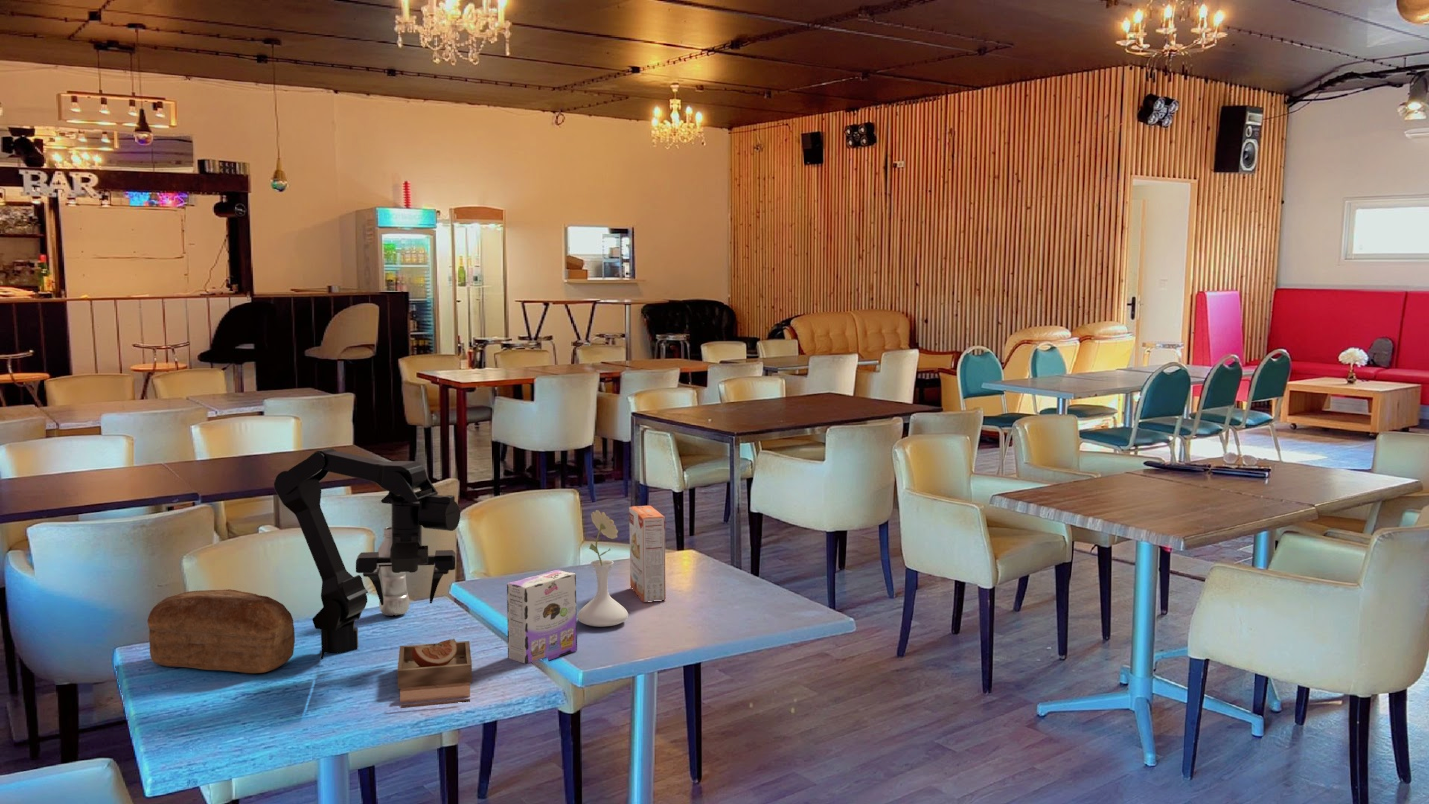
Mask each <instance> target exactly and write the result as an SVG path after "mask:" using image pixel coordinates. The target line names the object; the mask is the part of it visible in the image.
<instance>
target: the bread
mask: <svg viewBox="0 0 1429 804" xmlns="http://www.w3.org/2000/svg"><path fill="white" fill-rule="evenodd" d="M149 612H150V613H149V614H148V618H147V627H148V629H149V631H148V632H149V633H148V637H149V638H148V640H149V654H150V660H151V661H152V662H153V663H154V664H157V665H160V666H162V667H163V666H164V667H177V668H179V667H180V668H189V669H191V668H192V669H199V670H205V671H206V670H207V671H227V672H237V673H238V672H239V673H244V674H263V673H267V672H270V671H273V670H277V669H278V668H279V667H281V666H283V665H285V664H287V663H288V661H289V660H290V659H291V658H292V657H293V655H294V650H295V643H296V641H295V640H296V637H295V636H296V635H295V634H296V633H295V626H294V618H293V616H292V613H291V612H290V611H289V610H288V608H287V607H286V606H285V605H284V604H283V603H281V602H279V601H278V600H276V599H274V598H272V597H269V596H266V595H258V594H256V593H253V592H245V591H241V590H236V589H209V590H207V589H206V590H192V591H185V592H182V593H179V594H176V595H172V596H168V597H165V598H164V599H162V600H161V601H159V602H158V603H157V604H156V605H154V606H153V608H152V609H151V611H149Z"/></svg>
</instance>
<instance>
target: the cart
mask: <svg viewBox="0 0 1429 804" xmlns="http://www.w3.org/2000/svg"><path fill="white" fill-rule="evenodd" d="M438 643H439V642H436V643H434V644H436V645H437V644H438ZM427 644H428V643H425V644H413V645H412V644H411V645H408V644H407V645H400V646H399V649H398V650H399V652H398V661H397V689H398V690H400V688H410V687H422V686H434V685H445V684H457V683H469V682H470V684H472V683H473V668H472V667H473V665H472V664H473V663H472V656H471V655H472V653H471V643H470V641H469V640H463V641H461V640H460V641H456V645H457V651H456V654H455V656H454V657H453V659H452V660H451V661H450V662H449V663H448V664H447V665H445V666H433V667H420V666H418V665H417V664H416V663H415V661H414V660H413V658H412V650H413V648H414V647H417V646H421V645H427Z"/></svg>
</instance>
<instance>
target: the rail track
mask: <svg viewBox="0 0 1429 804" xmlns="http://www.w3.org/2000/svg"><path fill="white" fill-rule="evenodd" d="M468 697H471V683H470V682H469V683H457V684H445V685H434V686H422V687H410V688H400V689H399V702H400V709H406V708H417V707H427V706H437V705H439V706H440V705H446V704H447V705H450V704H459V703H458V702H462V703H471V698H468ZM459 698H460V699H459ZM461 698H463V699H461ZM449 699H450V700H449ZM451 699H452V700H451ZM435 700H438V701H435ZM440 700H442V701H440ZM425 701H426V702H425ZM427 701H428V702H427ZM429 701H430V702H429ZM412 702H413V703H412ZM414 702H417V703H414ZM419 702H420V703H419ZM404 703H405V704H404ZM406 703H408V704H406Z"/></svg>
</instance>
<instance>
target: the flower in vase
mask: <svg viewBox="0 0 1429 804" xmlns="http://www.w3.org/2000/svg"><path fill="white" fill-rule="evenodd" d="M590 516H591V522H592V524H594V525H595V528H596V529H597V530H598V533H597V535H596V539H595V545H594V544H593V543H590V546H589V550H591V551H592V552H594V553H595V554H597V557H598V560H594V561H592V562H590V564H591V566H592V567H593V568H594V570H595V574H596V580H597V581H596V582H597V591H596V593H595V596H594V598H592V599H591V600H590V601H588V602H587V603H586V604H585V605H584V606H583V607H581V609H580V610H579V611H578V613H577V620H578V621H579V622H580V623H582V624H584V625H587V626H590V627H600V628H601V627H612V626H617V625H620V624H623V622H626V620H627V619H628V617H629V612H628V611H627V609H626V608H625V607H624V606H623V605H621V604H620V603H619V602H618V601H616V599H614V598H612V597H611V595H610V593H609V587H608V585H609V584H608V582H609V575H610V574H609V573H610V571H611V568H612V566H613V565H614V561H613V560H610V559H601V556H603V555H604V554H606V553H607V552H609V551H611V548H609V549H608V550H606V551H603V552H602V553H601V554H600V552H599V549H598V540H599V538H600V534H602V535H603V536H605V537H607V538H608V539H611V540H615V539H616V538H618V533H619V530H618V529H617V526H616V525H615V521H614V520H613V519H610V517H609V516H608V515H606V513H605V512H604V511H603V512H600V510H597V509H596V510H595V511H592V513H590Z"/></svg>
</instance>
